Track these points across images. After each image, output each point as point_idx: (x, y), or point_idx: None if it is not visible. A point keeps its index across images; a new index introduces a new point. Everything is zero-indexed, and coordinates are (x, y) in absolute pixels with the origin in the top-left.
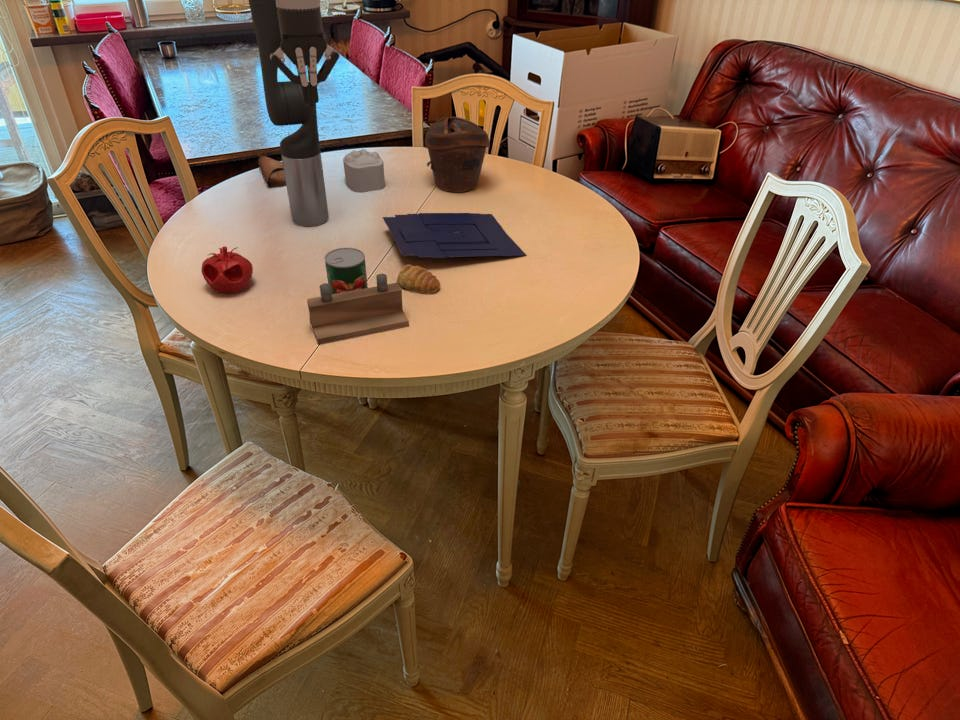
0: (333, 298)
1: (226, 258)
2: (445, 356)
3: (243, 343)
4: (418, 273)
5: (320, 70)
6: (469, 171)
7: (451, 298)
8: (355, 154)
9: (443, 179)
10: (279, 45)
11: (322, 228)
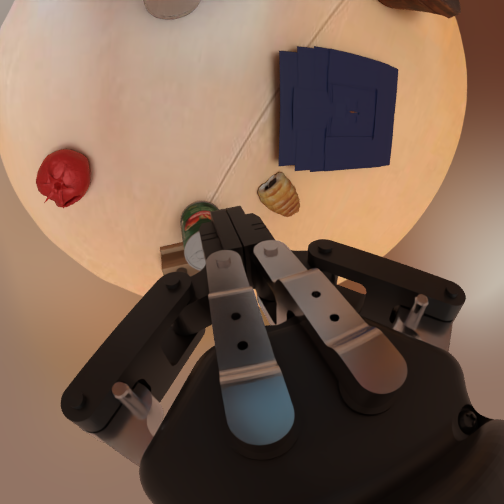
0: (188, 270)
1: (59, 190)
2: None
3: (106, 271)
4: (284, 203)
5: (338, 273)
6: (412, 9)
7: (300, 223)
8: None
9: None
10: (143, 478)
11: (185, 25)
